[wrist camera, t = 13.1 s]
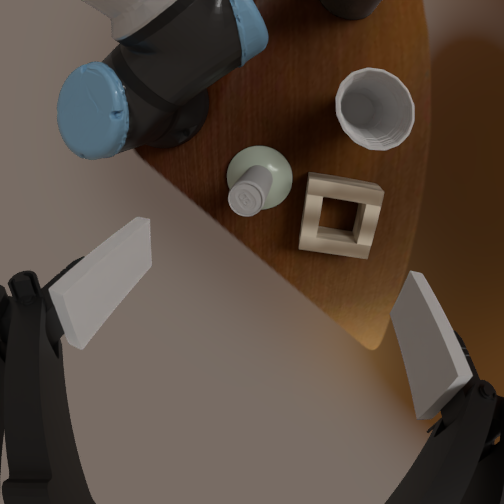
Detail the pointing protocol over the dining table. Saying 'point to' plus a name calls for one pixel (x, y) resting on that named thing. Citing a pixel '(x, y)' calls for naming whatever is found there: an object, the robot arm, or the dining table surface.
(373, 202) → the birch sleeve
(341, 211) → the dining table surface
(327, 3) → the pillar candle
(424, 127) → the dining table surface
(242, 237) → the dining table surface
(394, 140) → the plastic cup
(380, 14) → the dining table surface
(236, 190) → the beverage can
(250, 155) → the pale green cabochon
